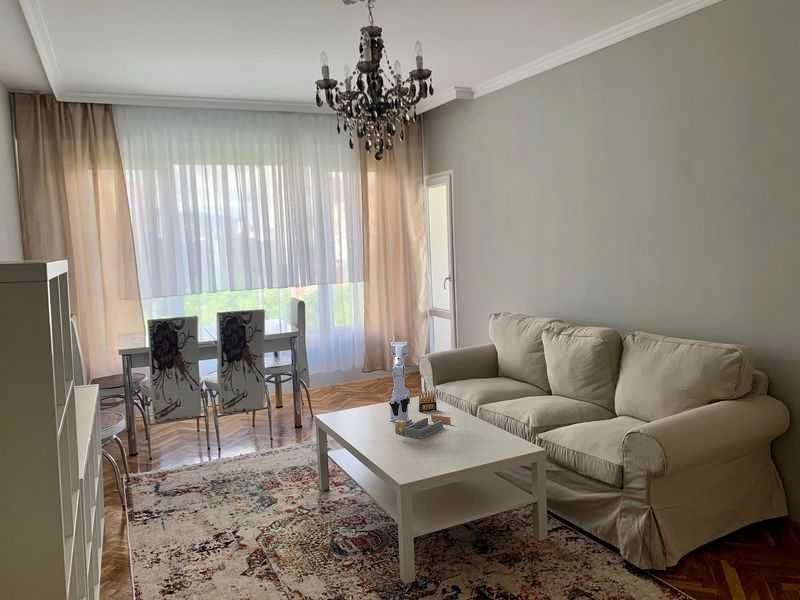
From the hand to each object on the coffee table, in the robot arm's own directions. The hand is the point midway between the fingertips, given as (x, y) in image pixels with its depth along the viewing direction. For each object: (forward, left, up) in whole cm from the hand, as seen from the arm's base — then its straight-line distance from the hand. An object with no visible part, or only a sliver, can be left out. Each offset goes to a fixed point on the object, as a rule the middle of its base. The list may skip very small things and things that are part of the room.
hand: (400, 414), depth 321 cm
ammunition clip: (-9, +41, -10) cm, 43 cm away
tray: (+10, +7, -10) cm, 16 cm away
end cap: (+10, +24, -10) cm, 28 cm away
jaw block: (0, 0, -10) cm, 10 cm away
